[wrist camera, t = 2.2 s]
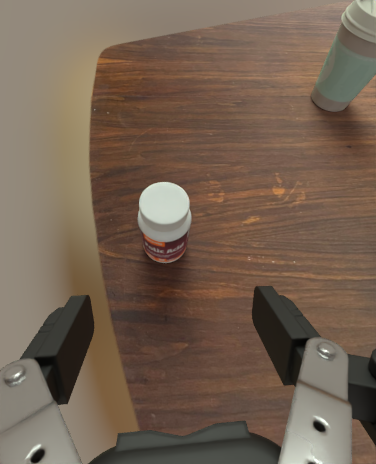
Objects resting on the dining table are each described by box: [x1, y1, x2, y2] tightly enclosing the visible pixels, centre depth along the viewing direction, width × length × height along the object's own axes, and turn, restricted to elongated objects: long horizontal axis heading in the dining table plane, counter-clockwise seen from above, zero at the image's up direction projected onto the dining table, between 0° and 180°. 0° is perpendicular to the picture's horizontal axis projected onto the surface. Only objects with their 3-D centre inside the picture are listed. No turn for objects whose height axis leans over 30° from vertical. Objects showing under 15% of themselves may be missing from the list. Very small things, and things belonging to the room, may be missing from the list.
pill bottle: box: [138, 182, 191, 263], centre depth 23 cm, size 5×5×8 cm
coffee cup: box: [311, 0, 376, 112], centre depth 34 cm, size 9×8×12 cm
